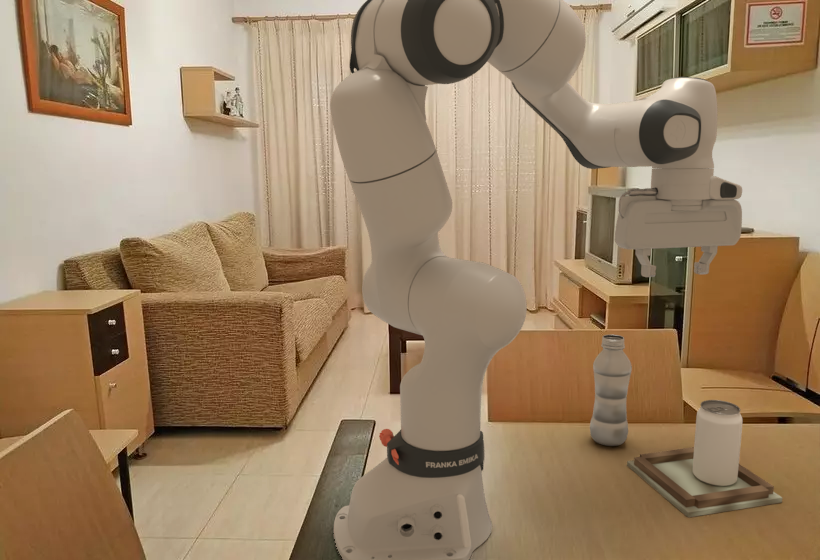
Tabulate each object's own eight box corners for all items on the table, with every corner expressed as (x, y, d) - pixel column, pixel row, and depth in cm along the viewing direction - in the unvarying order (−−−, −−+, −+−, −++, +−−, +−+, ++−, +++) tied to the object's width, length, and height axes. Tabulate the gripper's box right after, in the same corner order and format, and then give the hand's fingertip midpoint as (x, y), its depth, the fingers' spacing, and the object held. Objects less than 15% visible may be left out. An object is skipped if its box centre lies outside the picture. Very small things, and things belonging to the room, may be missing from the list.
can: (746, 484, 97) (753, 412, 95) (711, 490, 96) (717, 417, 93) (716, 465, 103) (722, 396, 101) (683, 470, 102) (688, 401, 99)
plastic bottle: (586, 434, 118) (590, 331, 114) (624, 435, 117) (629, 332, 113) (591, 449, 111) (596, 342, 107) (631, 451, 110) (636, 343, 107)
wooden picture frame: (687, 517, 90) (688, 504, 90) (626, 465, 105) (627, 454, 105) (781, 502, 93) (783, 490, 93) (709, 454, 109) (710, 443, 108)
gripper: (631, 189, 92) (626, 281, 94) (752, 187, 96) (744, 275, 98) (609, 188, 98) (605, 274, 100) (723, 185, 102) (716, 269, 104)
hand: (674, 275), depth 99 cm, fingers open, 8 cm apart
